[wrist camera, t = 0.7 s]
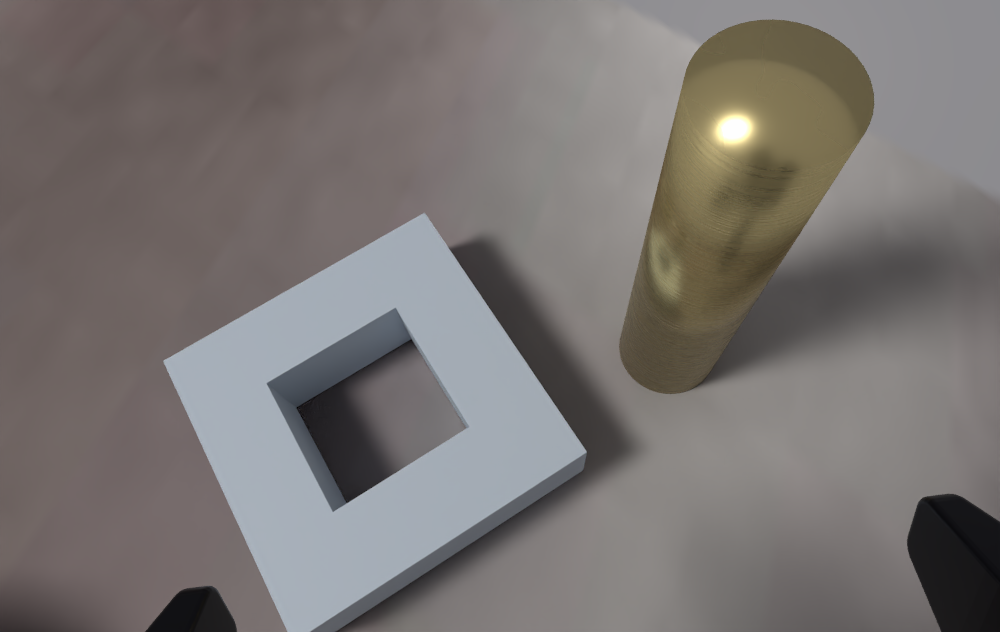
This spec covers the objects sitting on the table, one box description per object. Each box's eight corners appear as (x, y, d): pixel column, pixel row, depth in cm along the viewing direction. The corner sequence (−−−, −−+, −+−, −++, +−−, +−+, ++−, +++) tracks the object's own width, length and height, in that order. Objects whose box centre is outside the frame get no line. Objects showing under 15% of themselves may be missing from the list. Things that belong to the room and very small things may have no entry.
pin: (735, 361, 26) (915, 109, 13) (656, 411, 26) (764, 202, 13) (676, 288, 27) (788, -8, 14) (600, 335, 27) (646, 72, 14)
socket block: (583, 470, 25) (587, 452, 22) (323, 639, 23) (292, 642, 21) (437, 252, 28) (424, 212, 26) (203, 386, 27) (163, 361, 24)
